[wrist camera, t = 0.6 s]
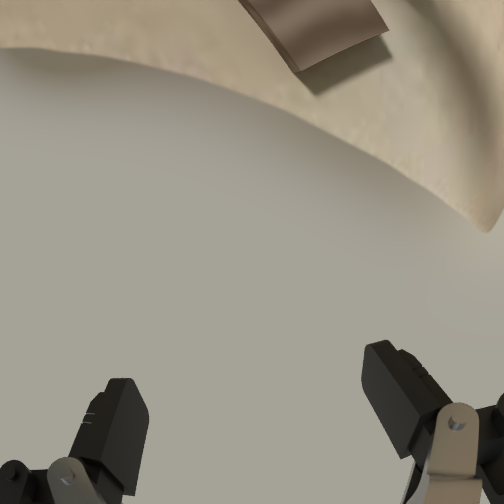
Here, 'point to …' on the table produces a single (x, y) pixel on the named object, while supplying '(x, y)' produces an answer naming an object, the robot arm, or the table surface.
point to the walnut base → (314, 27)
